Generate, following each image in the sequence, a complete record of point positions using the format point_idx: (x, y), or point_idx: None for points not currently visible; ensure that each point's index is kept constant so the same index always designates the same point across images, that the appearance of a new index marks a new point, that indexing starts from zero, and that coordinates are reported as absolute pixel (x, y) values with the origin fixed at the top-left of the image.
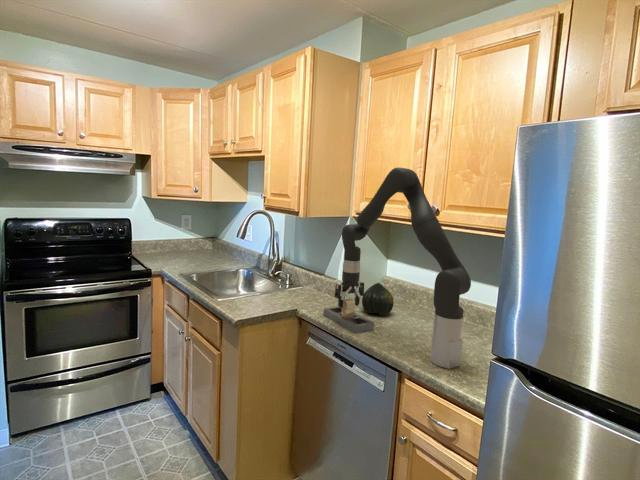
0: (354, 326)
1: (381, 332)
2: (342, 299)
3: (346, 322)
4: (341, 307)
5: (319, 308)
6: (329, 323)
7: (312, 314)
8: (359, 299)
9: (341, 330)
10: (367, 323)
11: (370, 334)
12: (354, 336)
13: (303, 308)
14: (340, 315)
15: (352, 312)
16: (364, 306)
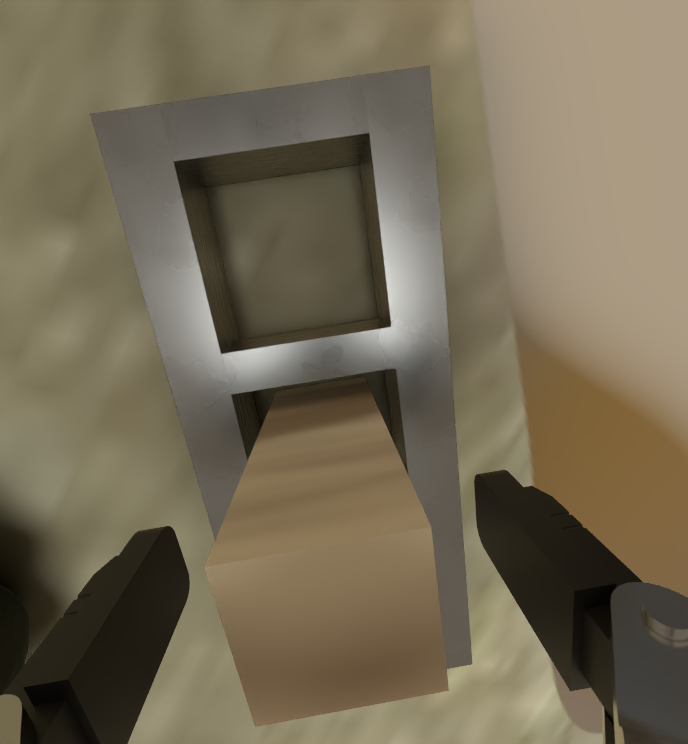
0: (428, 95)
1: (78, 41)
2: (629, 591)
3: (440, 278)
4: (505, 475)
5: (404, 726)
6: (502, 429)
7: (523, 628)
8: (40, 650)
9: (492, 239)
10: (204, 127)
11: (244, 25)
12: (454, 30)
13: (520, 736)
14: (409, 473)
15: (290, 434)
16: (1, 659)
